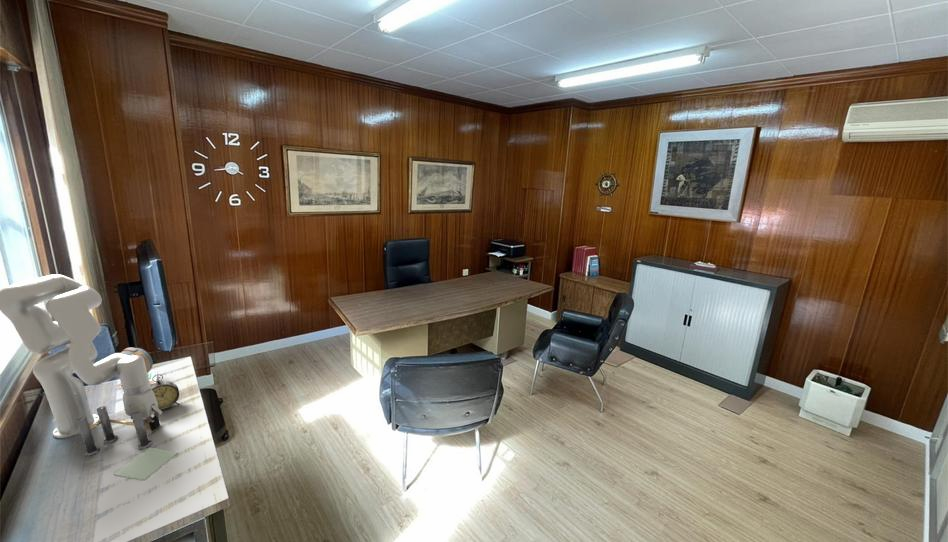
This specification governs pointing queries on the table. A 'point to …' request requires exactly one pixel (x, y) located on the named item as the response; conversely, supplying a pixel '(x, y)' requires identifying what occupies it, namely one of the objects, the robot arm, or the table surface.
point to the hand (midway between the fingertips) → (147, 427)
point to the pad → (146, 464)
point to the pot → (147, 425)
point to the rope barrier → (111, 430)
